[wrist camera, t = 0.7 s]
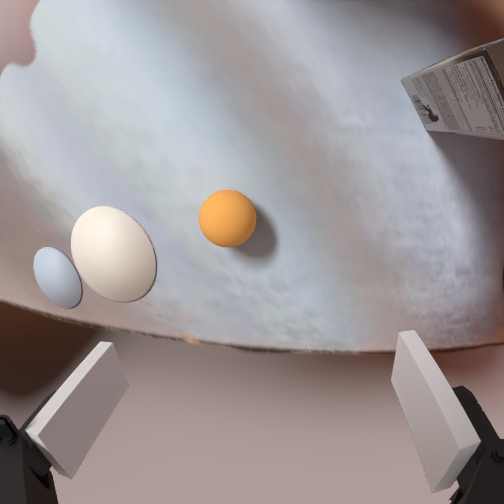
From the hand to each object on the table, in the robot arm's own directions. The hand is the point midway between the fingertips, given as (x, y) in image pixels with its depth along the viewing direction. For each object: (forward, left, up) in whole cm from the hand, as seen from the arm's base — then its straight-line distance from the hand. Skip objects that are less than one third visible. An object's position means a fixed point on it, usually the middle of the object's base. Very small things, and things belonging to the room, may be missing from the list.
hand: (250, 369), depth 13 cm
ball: (+4, -3, -18) cm, 19 cm away
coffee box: (-22, -9, -21) cm, 32 cm away
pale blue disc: (+33, -3, -21) cm, 39 cm away
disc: (+21, -3, -21) cm, 30 cm away
